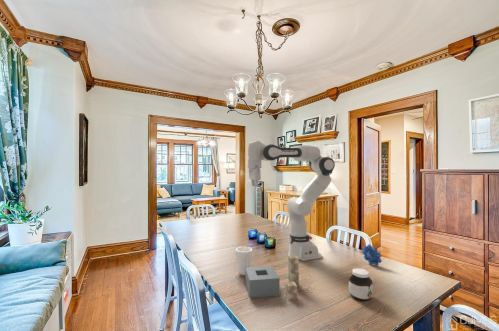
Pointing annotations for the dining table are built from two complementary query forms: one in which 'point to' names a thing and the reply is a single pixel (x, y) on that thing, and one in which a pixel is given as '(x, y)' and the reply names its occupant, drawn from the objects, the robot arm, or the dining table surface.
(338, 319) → the dining table surface
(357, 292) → the spread jar
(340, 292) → the dining table surface
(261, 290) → the hole block
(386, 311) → the dining table surface
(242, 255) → the foam cup
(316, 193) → the robot arm
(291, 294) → the short pin
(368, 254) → the grapes
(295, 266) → the long pin
